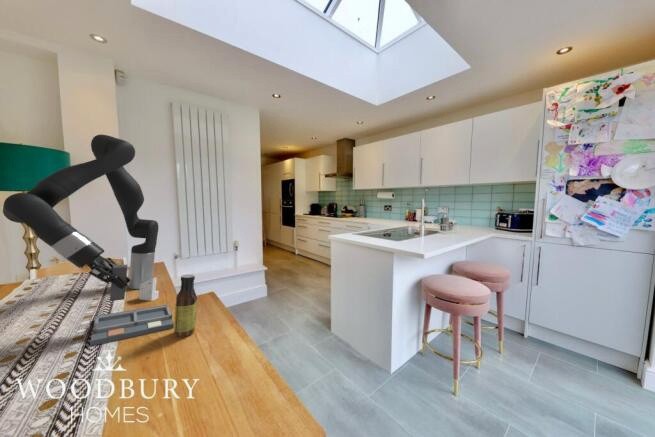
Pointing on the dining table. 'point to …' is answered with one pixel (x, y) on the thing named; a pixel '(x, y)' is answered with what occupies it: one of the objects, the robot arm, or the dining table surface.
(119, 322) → the grey tray
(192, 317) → the sauce bottle
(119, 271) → the plug
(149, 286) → the white wedge bracket
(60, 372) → the dining table surface
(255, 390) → the dining table surface
